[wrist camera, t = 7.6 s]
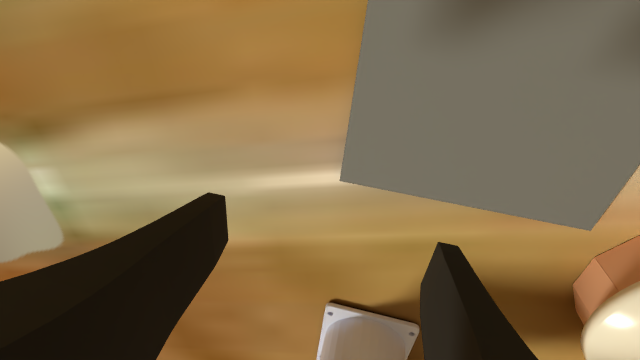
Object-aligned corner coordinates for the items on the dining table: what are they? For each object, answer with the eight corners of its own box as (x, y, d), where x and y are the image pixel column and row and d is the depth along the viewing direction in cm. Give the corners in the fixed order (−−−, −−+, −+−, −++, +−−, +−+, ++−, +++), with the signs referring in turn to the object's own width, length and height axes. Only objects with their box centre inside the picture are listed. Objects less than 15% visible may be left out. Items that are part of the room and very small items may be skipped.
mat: (586, 225, 19) (590, 230, 19) (340, 176, 21) (339, 180, 21) (824, -104, 11) (841, -108, 11) (390, -136, 13) (390, -140, 12)
